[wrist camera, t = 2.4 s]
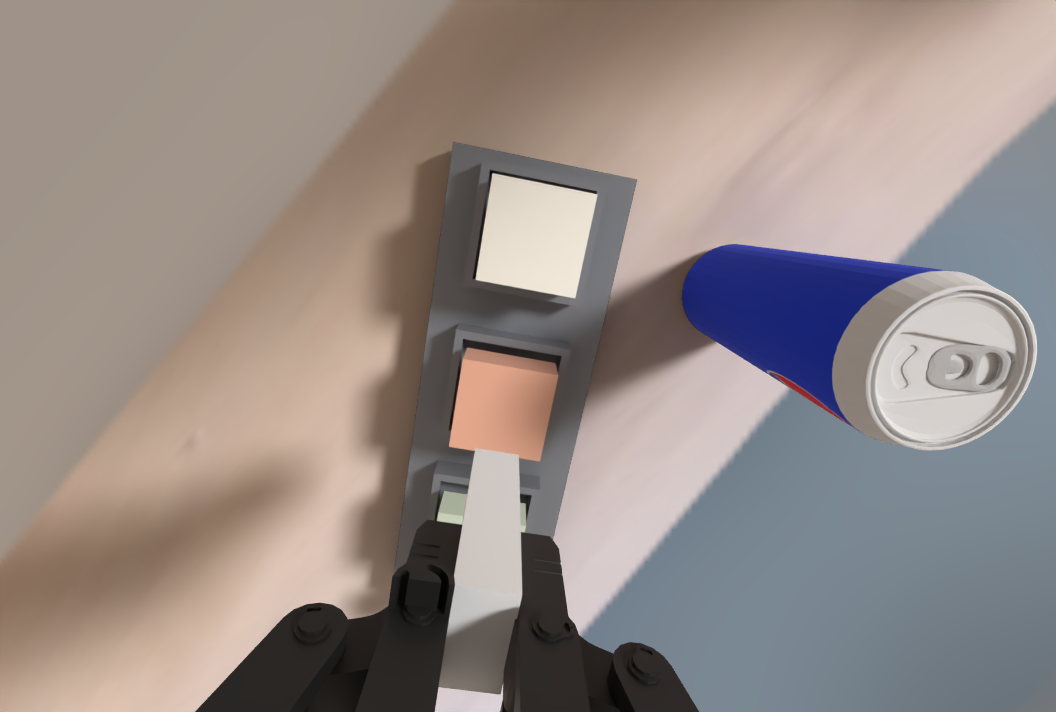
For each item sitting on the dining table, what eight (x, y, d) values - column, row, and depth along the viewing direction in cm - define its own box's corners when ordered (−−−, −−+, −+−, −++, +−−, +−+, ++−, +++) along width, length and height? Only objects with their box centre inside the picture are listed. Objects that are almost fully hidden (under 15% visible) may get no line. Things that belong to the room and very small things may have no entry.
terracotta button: (467, 347, 24) (462, 358, 22) (555, 363, 24) (558, 375, 23) (454, 429, 25) (448, 446, 23) (538, 443, 26) (540, 461, 24)
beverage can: (673, 334, 28) (836, 457, 14) (684, 241, 27) (878, 271, 12) (762, 337, 28) (1016, 461, 14) (777, 245, 27) (1077, 277, 13)
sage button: (444, 490, 26) (438, 512, 24) (525, 503, 27) (526, 526, 25) (433, 560, 27) (426, 586, 25) (511, 571, 28) (510, 598, 26)
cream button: (494, 177, 22) (492, 173, 20) (590, 196, 22) (597, 194, 20) (479, 274, 23) (475, 279, 21) (570, 291, 24) (575, 298, 22)
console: (458, 147, 25) (438, 124, 19) (628, 182, 26) (664, 171, 20) (398, 570, 32) (369, 657, 26) (534, 589, 33) (538, 679, 26)
